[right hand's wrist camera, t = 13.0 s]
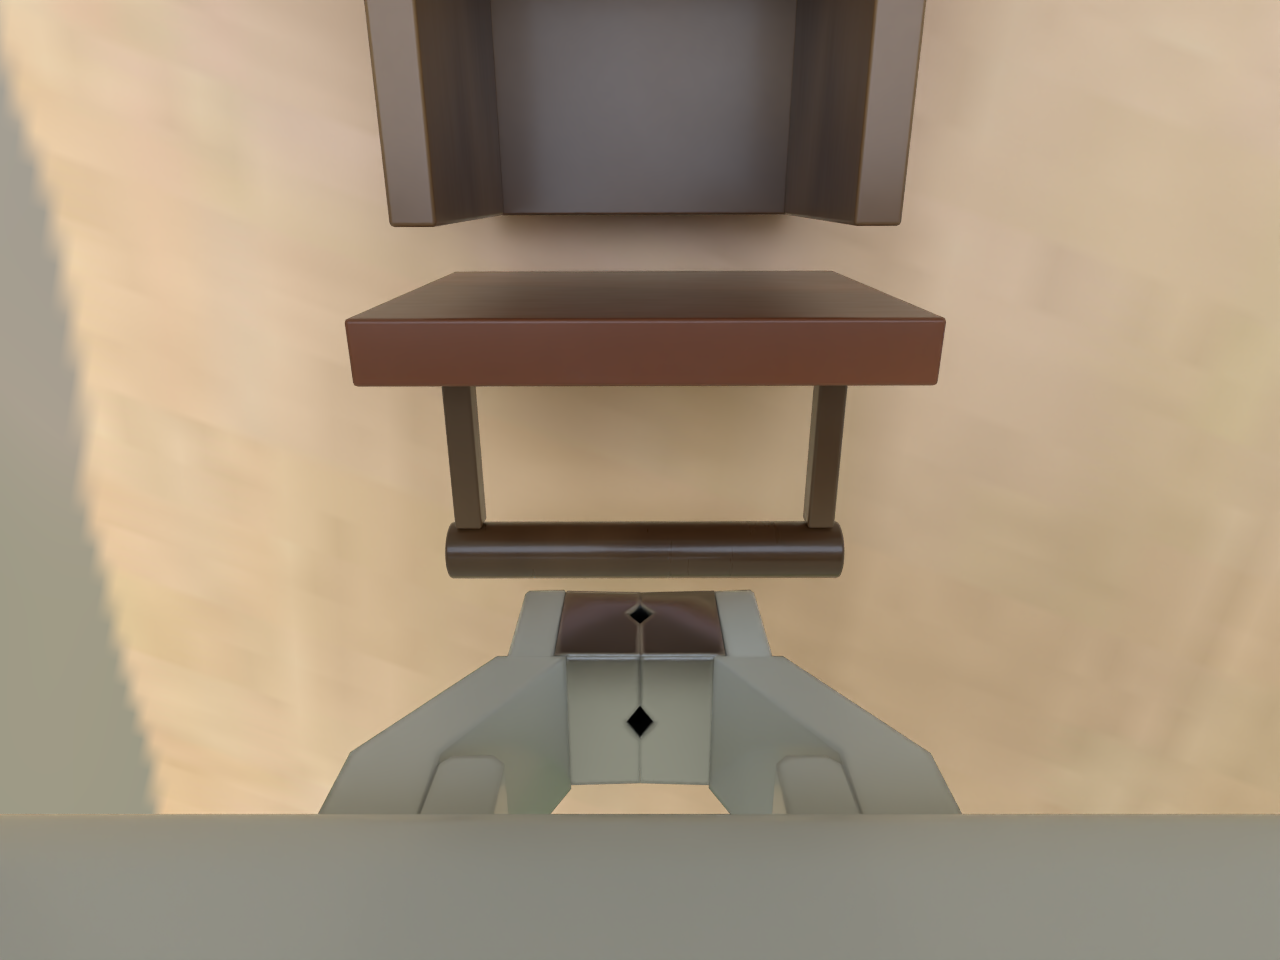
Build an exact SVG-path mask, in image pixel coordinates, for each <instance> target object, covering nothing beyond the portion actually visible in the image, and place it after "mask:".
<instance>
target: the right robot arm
mask: <svg viewBox="0 0 1280 960" xmlns="http://www.w3.org/2000/svg"><path fill="white" fill-rule="evenodd" d="M623 783H655V784H691V785H709V789H710V790H711V791H712V792H713V794H714V795H715V796H716V797H717V798H718V800H719V801H720V802H721V803H722V805H723V806H724V807H725V808H726V809H727V811H728V812H729V813H730V814H551V813H552V811H553V810H554V809H555V808H556V806H557V805H558V804H559V803H560V802H561V800H562V799H563V798H564V797H565V796H566V794H567V793H568V792H569V791H570V789H571V785H588V784H623ZM0 960H1280V814H962V813H961V811H960V809H959V807H958V805H957V803H956V801H955V799H954V798H953V796H952V794H951V792H950V790H949V788H948V786H947V784H946V782H945V780H944V778H943V776H942V774H941V772H940V770H939V769H938V767H937V765H936V763H935V761H934V759H933V757H932V755H931V753H929V752H928V751H926V750H925V749H923V748H922V747H920V746H919V745H917V744H916V743H914V742H913V741H911V740H910V739H908V738H907V737H905V736H903V735H902V734H900V733H899V732H897V731H896V730H894V729H893V728H891V727H890V726H888V725H887V724H885V723H884V722H882V721H881V720H879V719H878V718H876V717H875V716H873V715H872V714H870V713H868V712H867V711H865V710H864V709H862V708H861V707H859V706H858V705H856V704H855V703H853V702H852V701H850V700H849V699H847V698H846V697H844V696H843V695H841V694H840V693H838V692H837V691H835V690H833V689H832V688H830V687H829V686H827V685H826V684H824V683H823V682H821V681H820V680H818V679H817V678H815V677H814V676H812V675H811V674H809V673H808V672H806V671H805V670H803V669H802V668H800V667H798V666H797V665H795V664H794V663H792V662H791V661H789V660H788V659H786V658H785V657H783V656H772V653H771V650H770V646H769V643H768V640H767V636H766V633H765V629H764V626H763V622H762V619H761V616H760V612H759V609H758V605H757V602H756V599H755V595H754V592H752V591H751V590H737V591H715V592H714V591H684V592H642V593H640V592H599V591H567V592H565V591H564V590H547V591H529V592H527V593H526V594H525V598H524V601H523V605H522V608H521V612H520V615H519V619H518V622H517V625H516V629H515V632H514V636H513V639H512V643H511V646H510V650H509V653H508V656H497V657H495V658H494V659H492V660H491V661H489V662H488V663H486V664H485V665H483V666H481V667H480V668H478V669H477V670H475V671H474V672H472V673H471V674H469V675H468V676H466V677H465V678H463V679H462V680H460V681H459V682H457V683H455V684H454V685H452V686H451V687H449V688H448V689H446V690H445V691H443V692H442V693H440V694H439V695H437V696H436V697H434V698H433V699H431V700H429V701H428V702H426V703H425V704H423V705H422V706H420V707H419V708H417V709H416V710H414V711H413V712H411V713H410V714H408V715H407V716H405V717H404V718H402V719H400V720H399V721H397V722H396V723H394V724H393V725H391V726H390V727H388V728H387V729H385V730H384V731H382V732H381V733H379V734H378V735H376V736H374V737H373V738H371V739H370V740H368V741H367V742H365V743H364V744H362V745H361V746H359V747H358V748H356V749H355V750H353V751H352V752H350V754H349V756H348V758H347V760H346V762H345V764H344V765H343V767H342V769H341V771H340V773H339V775H338V777H337V779H336V781H335V783H334V784H333V786H332V788H331V790H330V792H329V794H328V796H327V798H326V800H325V802H324V804H323V805H322V807H321V809H320V811H319V813H318V814H0Z"/></svg>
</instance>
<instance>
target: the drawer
mask: <svg viewBox="0 0 1280 960" xmlns="http://www.w3.org/2000/svg"><path fill="white" fill-rule="evenodd" d="M364 4H365V12H366V21H367V30H368V39H369V47H370V56H371V65H372V74H373V82H374V91H375V100H376V109H377V117H378V126H379V135H380V144H381V152H382V161H383V170H384V179H385V187H386V196H387V205H388V214H389V222H390V224H391V226H393V227H435V226H441V225H447V224H452V223H458V222H464V221H470V220H476V219H482V218H487V217H493V216H499V215H727V214H787V215H793V216H799V217H805V218H812V219H818V220H824V221H830V222H837V223H843V224H849V225H855V226H897V225H899V224H900V223H901V217H902V208H903V200H904V191H905V182H906V173H907V165H908V156H909V147H910V138H911V130H912V121H913V112H914V103H915V95H916V86H917V77H918V68H919V60H920V51H921V42H922V33H923V24H924V16H925V7H926V0H364ZM945 324H946V320H945V318H943V317H941V316H938V315H936V314H933V313H931V312H929V311H926V310H924V309H921V308H919V307H917V306H914V305H912V304H910V303H907V302H905V301H902V300H900V299H898V298H895V297H893V296H890V295H888V294H886V293H883V292H881V291H879V290H876V289H874V288H871V287H869V286H867V285H864V284H862V283H859V282H857V281H855V280H852V279H850V278H848V277H845V276H843V275H840V274H838V273H836V272H833V271H617V272H454V273H452V274H450V275H447V276H445V277H443V278H441V279H438V280H436V281H434V282H431V283H429V284H427V285H424V286H422V287H420V288H418V289H415V290H413V291H411V292H408V293H406V294H404V295H401V296H399V297H397V298H395V299H392V300H390V301H388V302H385V303H383V304H381V305H378V306H376V307H374V308H372V309H369V310H367V311H365V312H362V313H360V314H358V315H355V316H353V317H351V318H349V319H346V321H345V328H346V335H347V342H348V349H349V356H350V363H351V370H352V377H353V383H354V385H355V386H358V387H372V386H442V394H443V404H444V415H445V425H446V435H447V445H448V455H449V465H450V476H451V486H452V496H453V506H454V516H455V522H453V523H451V525H450V526H449V529H448V532H447V537H446V546H445V558H446V567H447V571H448V574H449V576H450V577H451V578H837V577H839V576H840V575H841V572H842V569H843V564H844V540H843V534H842V530H841V527H840V525H839V523H838V522H835V521H834V519H835V508H836V498H837V488H838V478H839V467H840V457H841V447H842V437H843V426H844V416H845V406H846V396H847V386H862V385H935V384H936V383H937V381H938V374H939V367H940V360H941V353H942V346H943V338H944V331H945ZM475 386H814V390H813V402H812V414H811V426H810V439H809V451H808V463H807V476H806V488H805V500H804V513H803V518H804V520H805V521H664V522H485V519H486V509H485V496H484V484H483V472H482V460H481V448H480V435H479V423H478V411H477V399H476V387H475Z"/></svg>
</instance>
